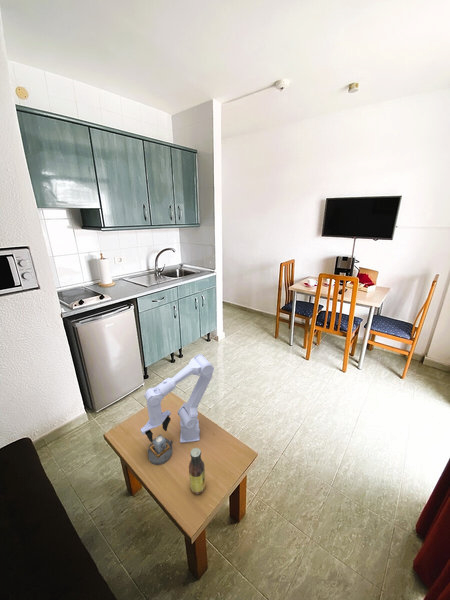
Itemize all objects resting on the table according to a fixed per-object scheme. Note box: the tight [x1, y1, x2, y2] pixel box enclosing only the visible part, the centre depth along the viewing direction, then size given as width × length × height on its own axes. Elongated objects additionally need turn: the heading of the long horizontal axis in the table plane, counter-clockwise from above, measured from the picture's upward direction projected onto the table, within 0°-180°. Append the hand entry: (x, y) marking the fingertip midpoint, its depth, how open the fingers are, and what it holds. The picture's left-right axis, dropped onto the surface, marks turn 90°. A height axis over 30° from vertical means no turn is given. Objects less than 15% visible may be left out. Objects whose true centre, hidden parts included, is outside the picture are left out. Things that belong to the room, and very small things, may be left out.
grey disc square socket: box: [147, 437, 173, 466], centre depth 114 cm, size 12×11×4 cm
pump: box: [153, 434, 166, 454], centre depth 112 cm, size 4×5×7 cm
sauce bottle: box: [188, 447, 206, 495], centre depth 97 cm, size 7×6×20 cm
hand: (158, 435), depth 113 cm, fingers open, 7 cm apart
